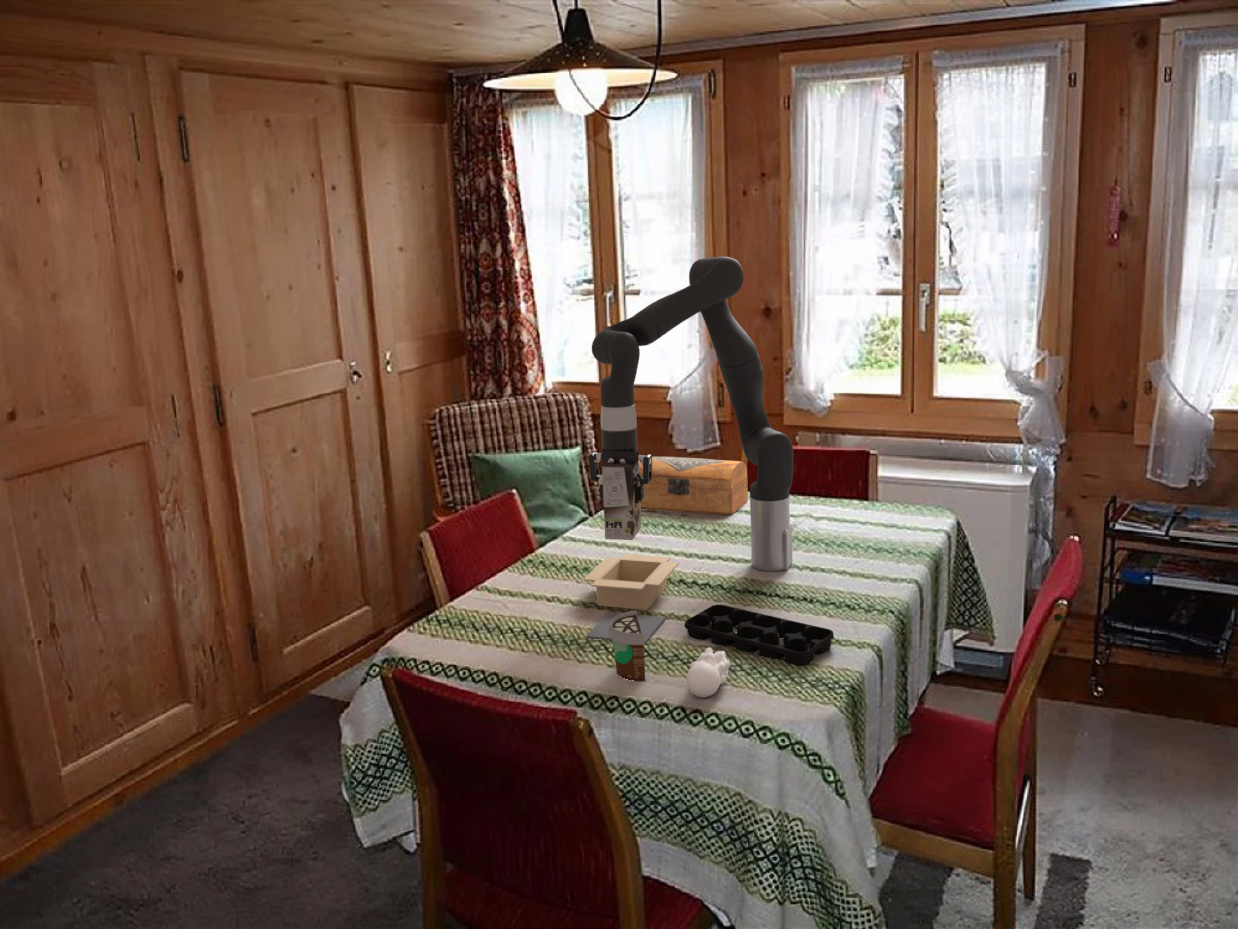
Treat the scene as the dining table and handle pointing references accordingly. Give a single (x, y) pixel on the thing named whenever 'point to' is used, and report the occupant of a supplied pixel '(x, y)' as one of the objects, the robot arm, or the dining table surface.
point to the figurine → (707, 673)
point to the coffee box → (620, 501)
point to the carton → (631, 580)
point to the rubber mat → (646, 622)
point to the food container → (628, 646)
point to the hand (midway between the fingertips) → (622, 501)
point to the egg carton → (760, 634)
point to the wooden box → (695, 486)
